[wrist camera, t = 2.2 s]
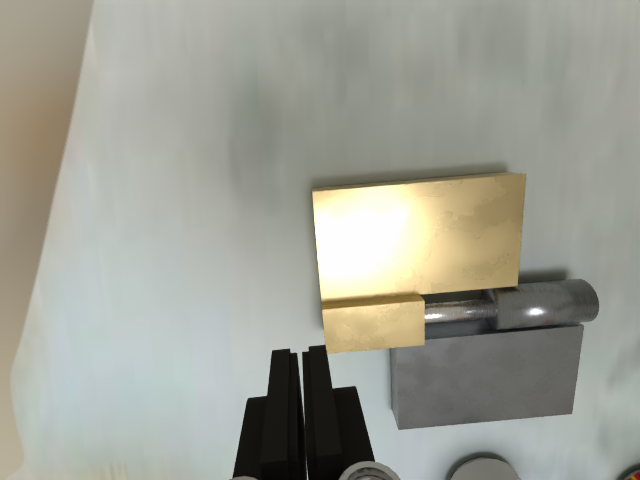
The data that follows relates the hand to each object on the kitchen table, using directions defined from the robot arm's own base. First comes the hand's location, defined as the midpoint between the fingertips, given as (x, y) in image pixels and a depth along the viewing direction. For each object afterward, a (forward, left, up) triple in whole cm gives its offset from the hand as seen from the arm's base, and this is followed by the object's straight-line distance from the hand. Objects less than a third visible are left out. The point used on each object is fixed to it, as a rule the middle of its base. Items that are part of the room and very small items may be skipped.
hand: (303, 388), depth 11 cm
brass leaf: (-9, +2, -19) cm, 21 cm away
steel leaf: (-14, +12, -19) cm, 27 cm away
